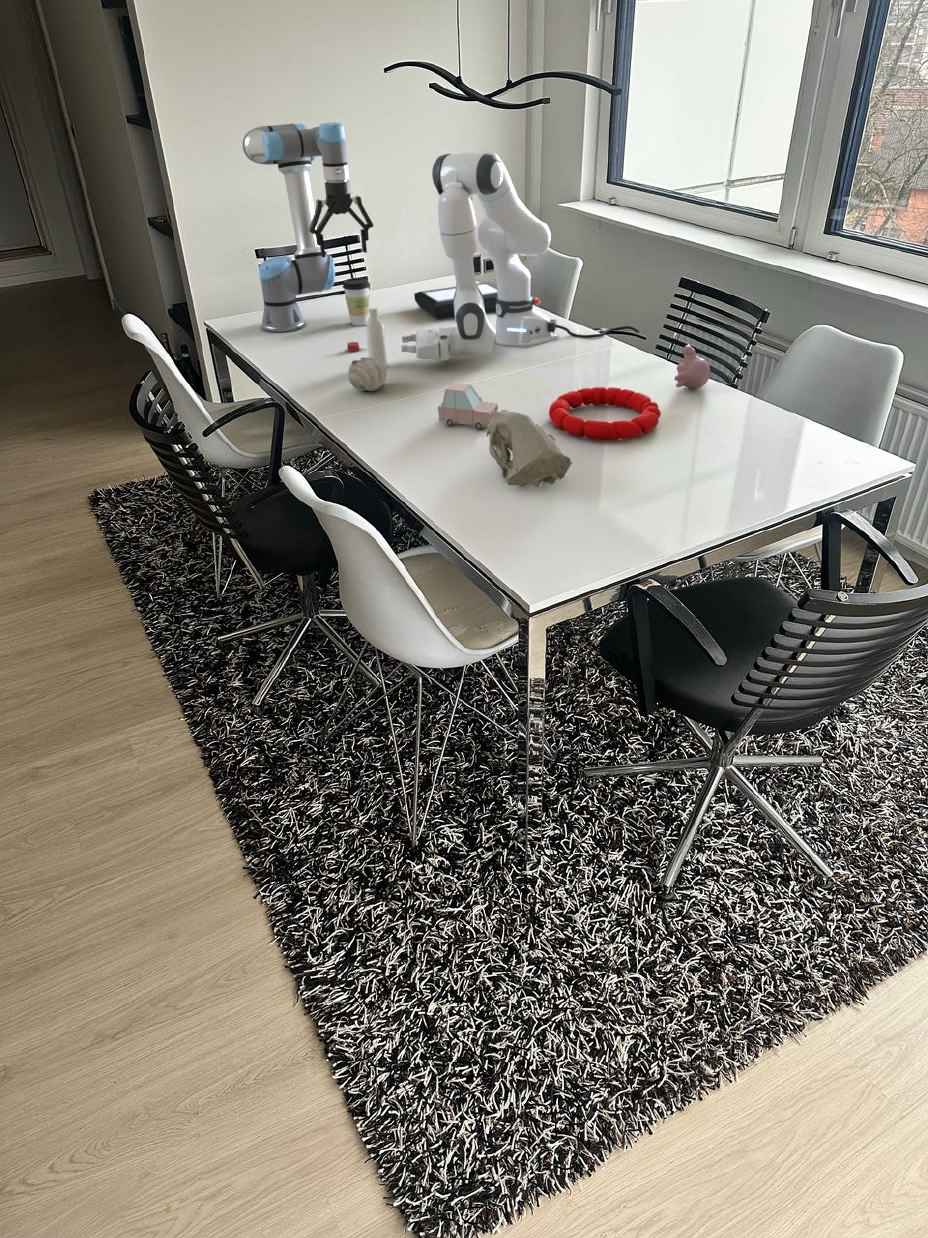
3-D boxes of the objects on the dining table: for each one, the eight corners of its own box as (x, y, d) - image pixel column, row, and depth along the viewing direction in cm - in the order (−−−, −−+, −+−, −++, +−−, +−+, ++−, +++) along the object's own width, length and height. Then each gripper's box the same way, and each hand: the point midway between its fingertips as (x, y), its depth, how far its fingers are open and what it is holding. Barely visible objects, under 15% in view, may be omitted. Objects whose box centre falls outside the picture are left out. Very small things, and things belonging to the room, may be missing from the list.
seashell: (340, 389, 270) (336, 357, 264) (385, 380, 276) (382, 348, 270) (353, 400, 262) (350, 366, 257) (399, 390, 268) (397, 357, 262)
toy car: (488, 432, 240) (488, 396, 234) (436, 426, 244) (434, 390, 239) (499, 419, 247) (499, 384, 241) (448, 413, 252) (447, 379, 246)
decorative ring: (589, 435, 224) (684, 402, 234) (527, 398, 247) (617, 369, 256) (589, 461, 229) (683, 427, 238) (529, 422, 251) (617, 393, 260)
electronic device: (434, 303, 323) (414, 291, 338) (435, 321, 326) (415, 307, 341) (513, 291, 333) (490, 280, 348) (512, 308, 336) (490, 296, 352)
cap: (348, 348, 303) (348, 341, 302) (360, 348, 303) (359, 341, 302) (347, 352, 300) (346, 345, 299) (358, 352, 300) (357, 345, 299)
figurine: (665, 387, 264) (669, 347, 257) (693, 380, 268) (698, 340, 261) (686, 396, 257) (690, 355, 250) (714, 388, 262) (720, 348, 255)
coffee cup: (372, 326, 323) (368, 283, 314) (345, 327, 323) (340, 284, 315) (374, 318, 331) (371, 276, 322) (348, 319, 331) (344, 277, 323)
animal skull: (496, 517, 219) (521, 479, 201) (463, 429, 225) (484, 384, 207) (557, 503, 225) (586, 465, 206) (523, 417, 231) (549, 373, 212)
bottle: (378, 361, 291) (373, 304, 281) (390, 365, 288) (386, 307, 277) (366, 366, 287) (360, 308, 277) (378, 369, 284) (373, 311, 274)
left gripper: (299, 185, 266) (308, 260, 278) (379, 178, 273) (384, 251, 285) (293, 182, 271) (303, 255, 284) (372, 175, 278) (378, 247, 290)
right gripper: (444, 322, 291) (401, 324, 291) (445, 341, 274) (400, 343, 274) (444, 341, 295) (403, 343, 295) (446, 362, 278) (401, 363, 278)
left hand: (344, 254), depth 284 cm, fingers open, 13 cm apart
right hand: (401, 343), depth 284 cm, fingers open, 8 cm apart
